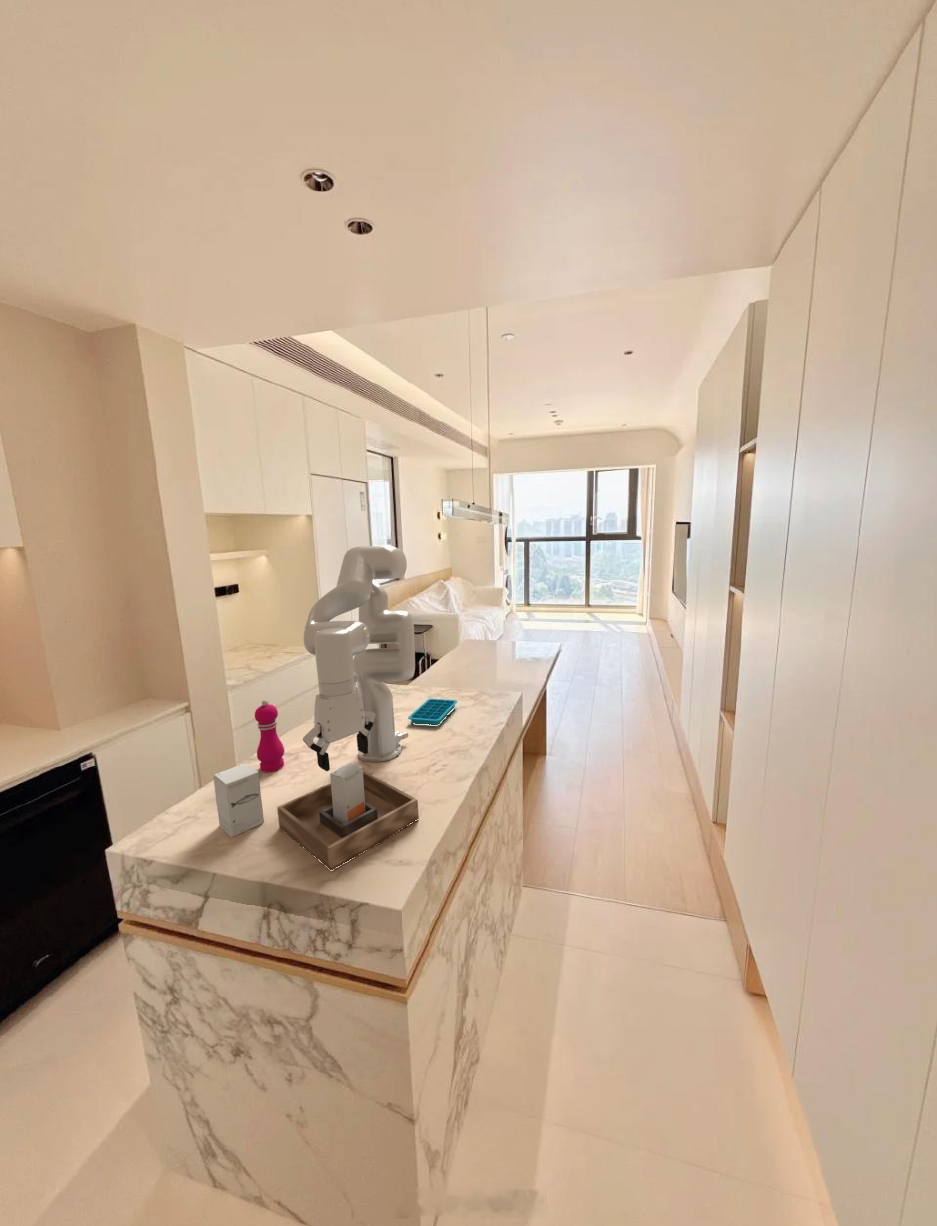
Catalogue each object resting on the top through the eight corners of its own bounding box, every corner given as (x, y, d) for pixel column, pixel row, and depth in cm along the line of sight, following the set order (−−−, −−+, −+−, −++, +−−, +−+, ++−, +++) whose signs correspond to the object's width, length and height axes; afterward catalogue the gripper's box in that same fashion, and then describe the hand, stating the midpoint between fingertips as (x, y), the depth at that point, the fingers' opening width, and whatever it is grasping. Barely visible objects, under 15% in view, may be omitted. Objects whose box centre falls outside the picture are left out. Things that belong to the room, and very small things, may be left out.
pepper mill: (276, 774, 131) (268, 704, 128) (253, 772, 132) (244, 704, 129) (291, 761, 138) (283, 695, 135) (268, 760, 139) (261, 695, 136)
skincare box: (346, 829, 103) (342, 778, 101) (333, 823, 105) (328, 773, 104) (367, 815, 108) (363, 766, 106) (354, 810, 110) (349, 761, 109)
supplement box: (231, 838, 103) (224, 784, 101) (218, 825, 108) (211, 773, 106) (265, 823, 108) (259, 771, 106) (251, 811, 113) (245, 761, 111)
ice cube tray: (407, 726, 161) (406, 718, 161) (429, 705, 180) (429, 698, 180) (439, 729, 158) (438, 720, 157) (458, 707, 177) (458, 700, 176)
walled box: (362, 787, 122) (361, 769, 121) (418, 819, 107) (417, 799, 106) (279, 827, 106) (277, 806, 105) (331, 872, 91) (329, 848, 90)
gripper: (361, 672, 110) (367, 741, 113) (290, 693, 98) (299, 770, 101) (380, 678, 105) (386, 750, 108) (308, 702, 93) (317, 782, 96)
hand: (344, 760), depth 105 cm, fingers open, 9 cm apart
